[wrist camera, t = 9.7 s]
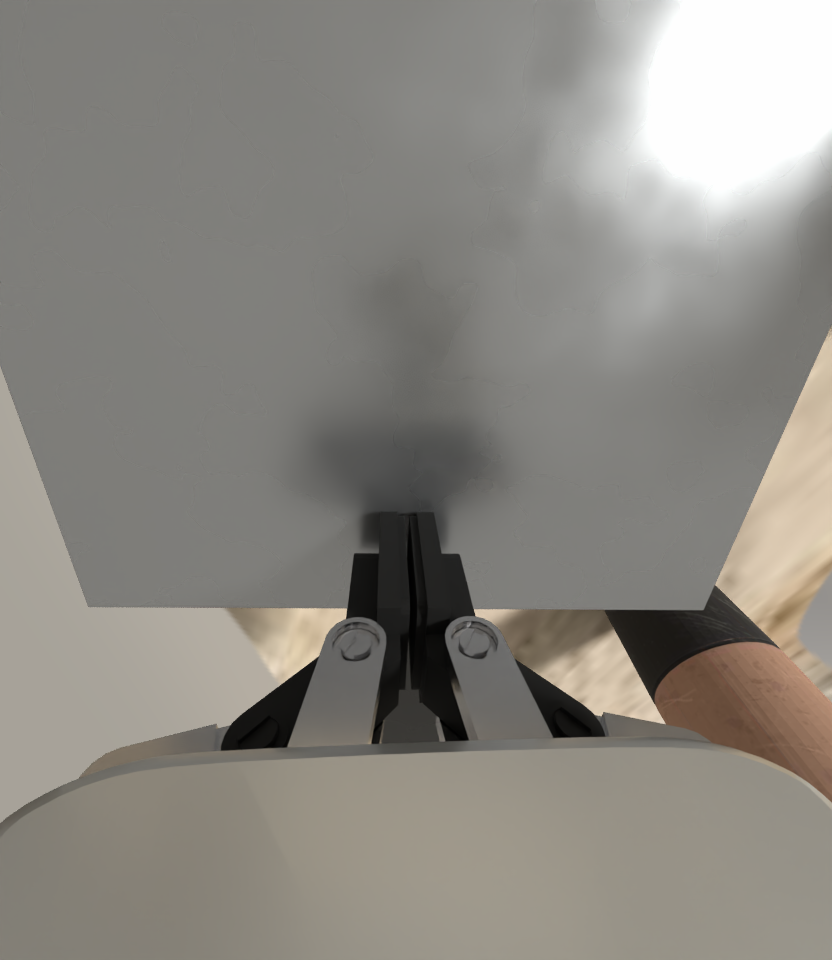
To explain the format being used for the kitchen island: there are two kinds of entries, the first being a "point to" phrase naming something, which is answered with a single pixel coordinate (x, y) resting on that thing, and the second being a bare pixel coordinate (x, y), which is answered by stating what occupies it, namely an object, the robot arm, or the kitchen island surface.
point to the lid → (410, 288)
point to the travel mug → (730, 685)
